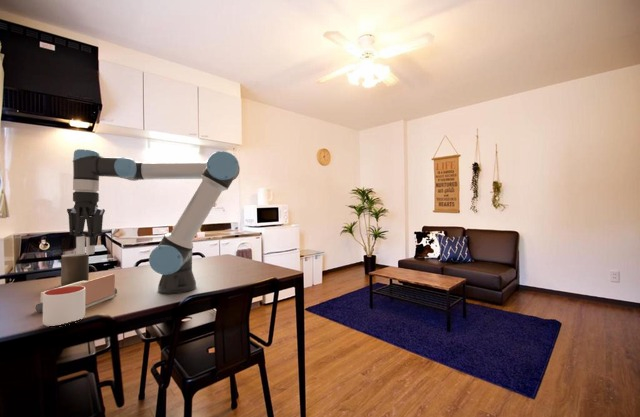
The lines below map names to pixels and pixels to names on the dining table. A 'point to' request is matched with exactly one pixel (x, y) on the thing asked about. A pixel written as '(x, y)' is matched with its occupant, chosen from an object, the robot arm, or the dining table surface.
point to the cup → (63, 305)
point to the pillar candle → (74, 268)
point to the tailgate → (99, 288)
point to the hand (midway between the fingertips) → (85, 253)
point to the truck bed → (40, 306)
